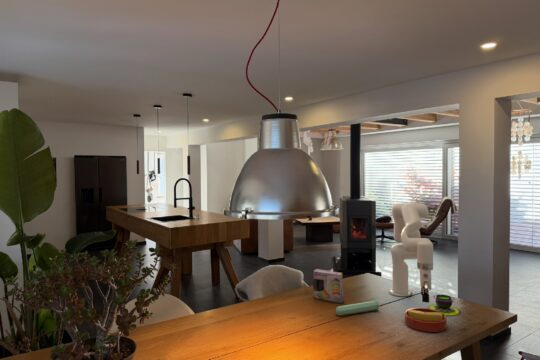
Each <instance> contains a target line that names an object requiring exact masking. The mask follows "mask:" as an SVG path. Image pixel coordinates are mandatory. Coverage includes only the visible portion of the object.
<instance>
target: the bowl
mask: <svg viewBox="0 0 540 360" xmlns="http://www.w3.org/2000/svg"><path fill="white" fill-rule="evenodd" d="M409 310H416V311H422V312H437V313H441V312H438V311H435V310H432V309H429V308H424V307H412V308H409V309H406V310H405V311H404V323H405V324H406V325H407V326H408V327H410V328H412V329H414V330H418V331H423V332H429V333H438V332H442V331H445V330H446V329H447V327H448V318H447V315H444V314H443V313H441V314H442V315H443V321H424V320H419V319H414V318H411V317H409Z"/></svg>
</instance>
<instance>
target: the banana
mask: <svg viewBox="0 0 540 360" xmlns="http://www.w3.org/2000/svg"><path fill="white" fill-rule="evenodd" d="M409 317H411V318H414V319H419V320H424V321H443V315H442V314H441V313H437V312H422V311H416V310H409Z"/></svg>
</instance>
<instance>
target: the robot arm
mask: <svg viewBox="0 0 540 360" xmlns="http://www.w3.org/2000/svg"><path fill="white" fill-rule="evenodd" d="M390 211H391V216H392V218H393V240H394V241H395V243H396V244H393V245H392V246H391V247H390V255H391V261H392V262H391V264H392V289H390V290H389V293H390V294H391V295H393V296H396V297H410V296H411V295H412V291H410V290H409V265H408V264H407V262H406V261H405V260H416V267H417V268H416V269H418V270H419V285H420V296H421V302H422V303H426V304H427V303H430V292H429V291H431V290H432V271H433V270H434V244H433V242H432V241H431V239H429V238H428V237H422V236H421V232H420V229H421V228H422V226H423V223H422V219H426V218H428V216H429V208H428V206H427V205H426V204H425V203H406V202H405V203H402V202H401V203H394V204H392V206H391V209H390Z"/></svg>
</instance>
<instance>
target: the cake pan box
mask: <svg viewBox="0 0 540 360" xmlns="http://www.w3.org/2000/svg"><path fill="white" fill-rule="evenodd" d="M343 276H344V275H343V272H339V271H333V270H326V269H320V268H316V269H314V270H313V280H312V289H313V293H314V299H318V300H322V301H327V302H333V303H338V304H342V303H343V302H345V296H344V279H343Z"/></svg>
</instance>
